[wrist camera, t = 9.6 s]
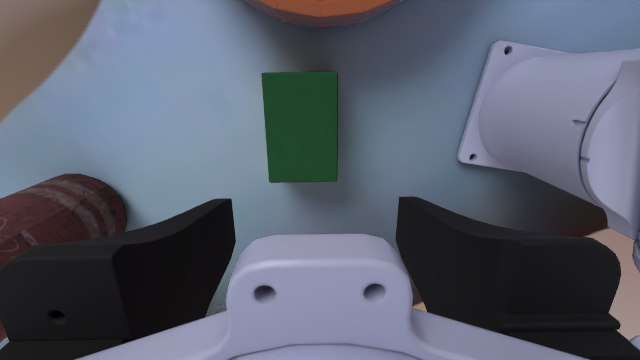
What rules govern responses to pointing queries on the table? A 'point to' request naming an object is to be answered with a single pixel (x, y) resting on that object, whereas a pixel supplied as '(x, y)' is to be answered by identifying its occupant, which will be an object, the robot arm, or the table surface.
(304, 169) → the sponge
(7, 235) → the can
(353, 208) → the table surface
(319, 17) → the bowl
